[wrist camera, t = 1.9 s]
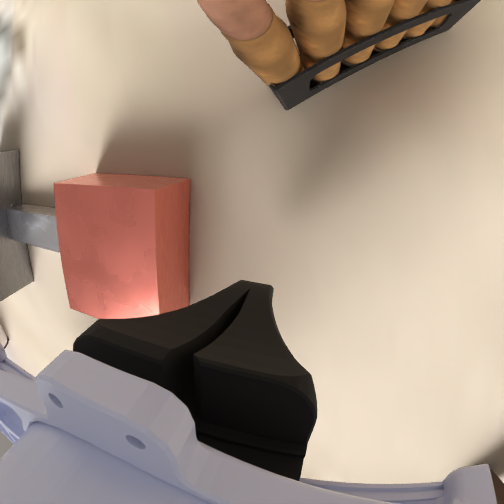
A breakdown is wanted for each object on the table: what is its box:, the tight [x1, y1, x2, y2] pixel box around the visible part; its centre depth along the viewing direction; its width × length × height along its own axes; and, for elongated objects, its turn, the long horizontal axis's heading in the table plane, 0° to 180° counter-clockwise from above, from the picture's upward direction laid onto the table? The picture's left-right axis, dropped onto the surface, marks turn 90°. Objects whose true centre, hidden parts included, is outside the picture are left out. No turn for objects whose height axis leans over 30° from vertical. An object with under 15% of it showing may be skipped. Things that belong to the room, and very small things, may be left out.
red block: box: [54, 173, 191, 319], centre depth 17 cm, size 8×7×4 cm
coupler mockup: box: [0, 149, 60, 301], centre depth 18 cm, size 12×11×6 cm
